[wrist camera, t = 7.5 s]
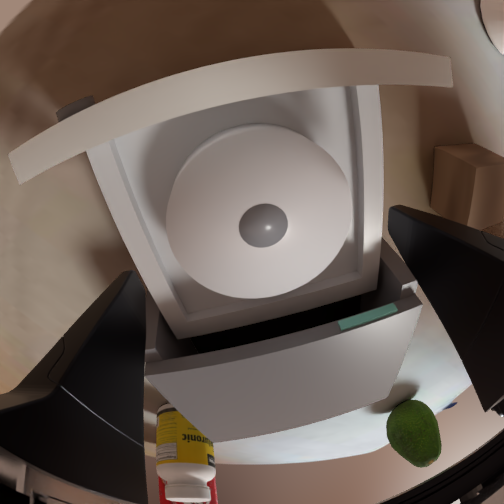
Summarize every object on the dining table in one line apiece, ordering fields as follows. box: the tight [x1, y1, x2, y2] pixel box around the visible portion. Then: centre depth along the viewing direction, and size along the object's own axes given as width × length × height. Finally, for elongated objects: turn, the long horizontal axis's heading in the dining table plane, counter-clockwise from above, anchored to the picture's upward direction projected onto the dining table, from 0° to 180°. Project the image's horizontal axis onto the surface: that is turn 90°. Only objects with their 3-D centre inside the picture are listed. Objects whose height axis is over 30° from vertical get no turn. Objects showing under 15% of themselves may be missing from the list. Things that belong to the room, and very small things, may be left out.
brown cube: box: [430, 143, 504, 230], centre depth 13 cm, size 4×4×4 cm
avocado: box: [386, 400, 441, 467], centre depth 30 cm, size 8×8×12 cm
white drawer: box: [8, 48, 453, 340], centre depth 11 cm, size 13×12×6 cm
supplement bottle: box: [156, 403, 216, 502], centre depth 21 cm, size 5×5×10 cm
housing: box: [144, 238, 423, 443], centre depth 17 cm, size 14×12×5 cm
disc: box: [166, 123, 352, 298], centre depth 11 cm, size 7×7×2 cm
